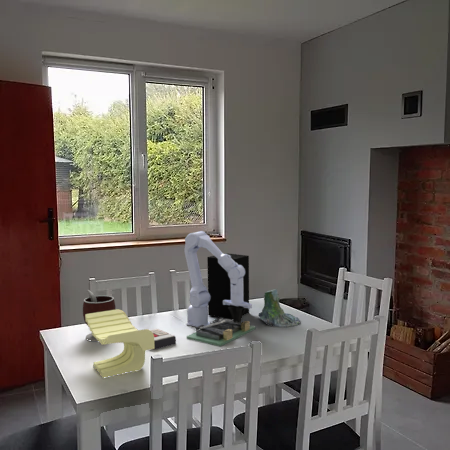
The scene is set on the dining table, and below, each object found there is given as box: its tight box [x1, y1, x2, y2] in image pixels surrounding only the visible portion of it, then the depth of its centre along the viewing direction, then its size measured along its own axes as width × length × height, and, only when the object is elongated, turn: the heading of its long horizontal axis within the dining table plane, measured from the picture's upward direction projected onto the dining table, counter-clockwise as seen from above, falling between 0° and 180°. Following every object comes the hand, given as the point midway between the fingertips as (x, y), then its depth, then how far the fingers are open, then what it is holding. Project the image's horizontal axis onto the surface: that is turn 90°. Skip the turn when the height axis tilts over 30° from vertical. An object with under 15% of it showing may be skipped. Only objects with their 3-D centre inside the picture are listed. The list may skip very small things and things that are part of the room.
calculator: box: [149, 328, 177, 351], centre depth 207 cm, size 11×4×15 cm
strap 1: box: [199, 320, 225, 330], centre depth 211 cm, size 12×3×1 cm, turn 55°
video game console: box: [206, 252, 250, 320], centre depth 245 cm, size 15×15×30 cm
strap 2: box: [218, 318, 243, 325], centre depth 223 cm, size 12×3×1 cm, turn 55°
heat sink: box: [195, 317, 250, 341], centre depth 217 cm, size 16×22×4 cm
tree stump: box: [257, 288, 301, 328], centre depth 234 cm, size 18×20×18 cm
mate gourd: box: [82, 289, 117, 342], centre depth 214 cm, size 16×14×20 cm
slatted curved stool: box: [85, 308, 156, 379], centre depth 179 cm, size 30×16×18 cm, turn 30°
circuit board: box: [186, 325, 256, 347], centre depth 217 cm, size 18×28×1 cm, turn 145°
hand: (237, 322), depth 221 cm, fingers closed, pressing on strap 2
